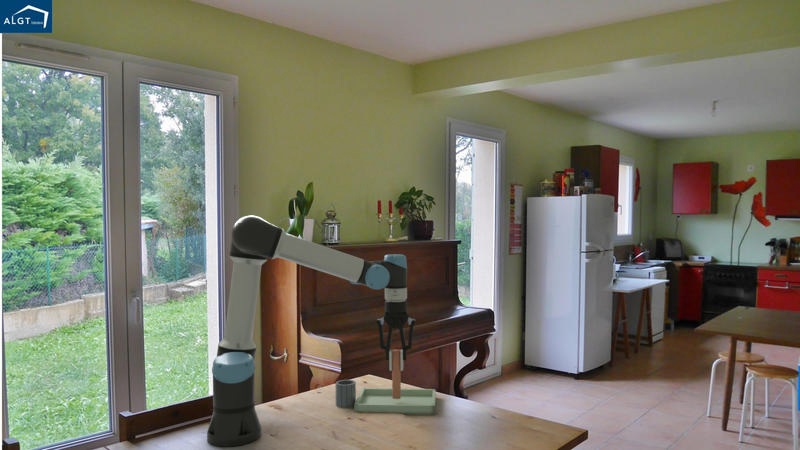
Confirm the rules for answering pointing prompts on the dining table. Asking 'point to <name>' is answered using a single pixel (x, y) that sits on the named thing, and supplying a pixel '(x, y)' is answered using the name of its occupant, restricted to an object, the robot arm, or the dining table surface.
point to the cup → (345, 393)
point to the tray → (396, 401)
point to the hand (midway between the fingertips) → (396, 369)
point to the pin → (396, 374)
